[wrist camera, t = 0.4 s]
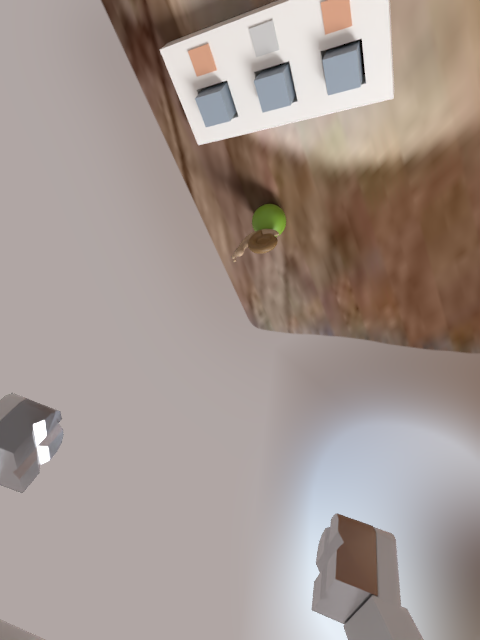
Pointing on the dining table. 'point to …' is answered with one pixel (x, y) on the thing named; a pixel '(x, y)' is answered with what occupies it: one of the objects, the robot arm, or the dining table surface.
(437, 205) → the dining table surface
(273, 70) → the middle button
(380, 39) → the button panel
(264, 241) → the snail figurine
